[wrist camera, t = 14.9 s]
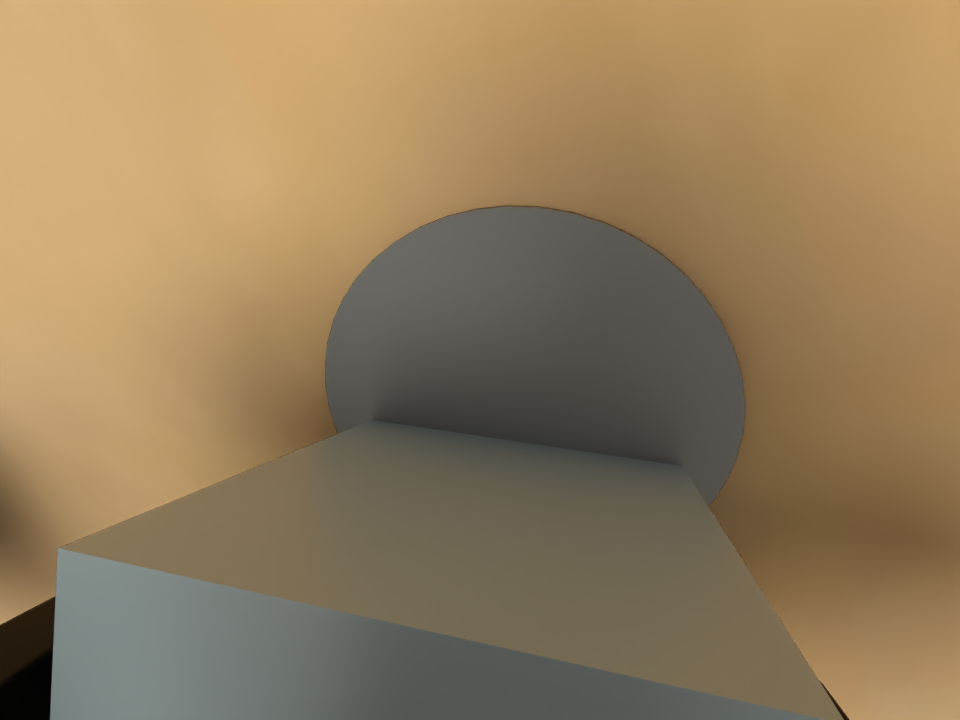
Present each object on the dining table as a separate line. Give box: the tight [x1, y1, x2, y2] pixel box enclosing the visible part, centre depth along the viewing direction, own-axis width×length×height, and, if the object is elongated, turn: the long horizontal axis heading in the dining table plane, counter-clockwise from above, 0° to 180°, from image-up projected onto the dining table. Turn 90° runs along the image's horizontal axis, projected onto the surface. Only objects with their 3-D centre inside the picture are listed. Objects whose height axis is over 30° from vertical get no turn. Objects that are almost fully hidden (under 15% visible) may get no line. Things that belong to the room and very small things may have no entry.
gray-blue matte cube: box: [50, 420, 844, 720], centre depth 10 cm, size 8×8×9 cm
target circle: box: [325, 206, 745, 506], centre depth 13 cm, size 10×10×1 cm
